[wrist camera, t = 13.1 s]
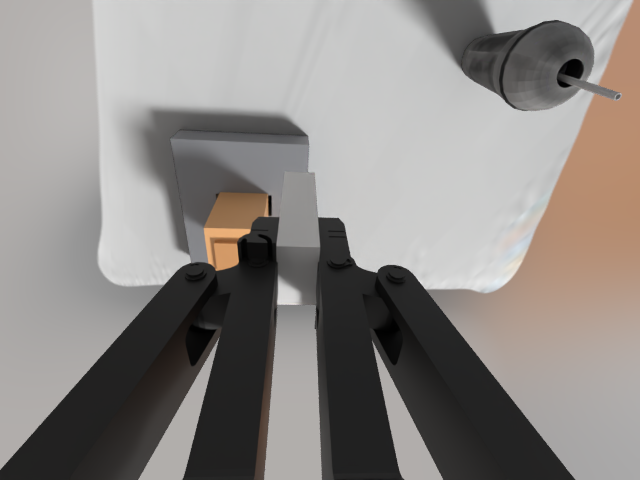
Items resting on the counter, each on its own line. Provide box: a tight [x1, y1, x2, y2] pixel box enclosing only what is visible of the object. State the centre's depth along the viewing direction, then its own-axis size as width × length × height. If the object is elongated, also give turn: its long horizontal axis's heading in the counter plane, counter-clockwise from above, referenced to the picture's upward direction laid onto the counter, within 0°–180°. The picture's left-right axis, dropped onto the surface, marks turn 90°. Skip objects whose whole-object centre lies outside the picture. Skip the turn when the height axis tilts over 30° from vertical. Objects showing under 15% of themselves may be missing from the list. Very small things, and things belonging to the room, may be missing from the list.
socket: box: [170, 130, 309, 264], centre depth 47 cm, size 20×16×4 cm
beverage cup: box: [462, 20, 622, 111], centre depth 32 cm, size 7×7×20 cm
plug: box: [204, 192, 268, 271], centre depth 42 cm, size 7×6×12 cm
